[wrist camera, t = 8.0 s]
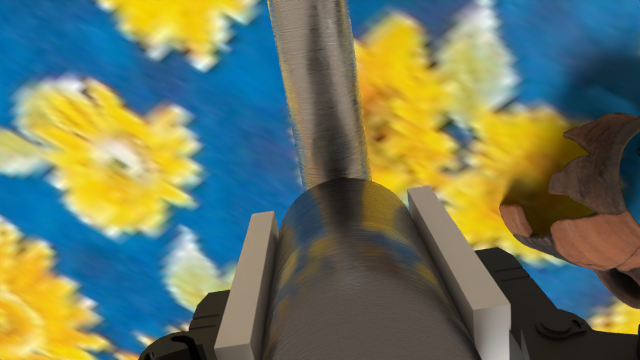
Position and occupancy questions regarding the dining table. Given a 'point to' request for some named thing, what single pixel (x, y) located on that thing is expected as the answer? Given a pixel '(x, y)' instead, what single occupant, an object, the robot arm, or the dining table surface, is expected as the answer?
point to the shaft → (346, 220)
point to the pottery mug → (602, 197)
